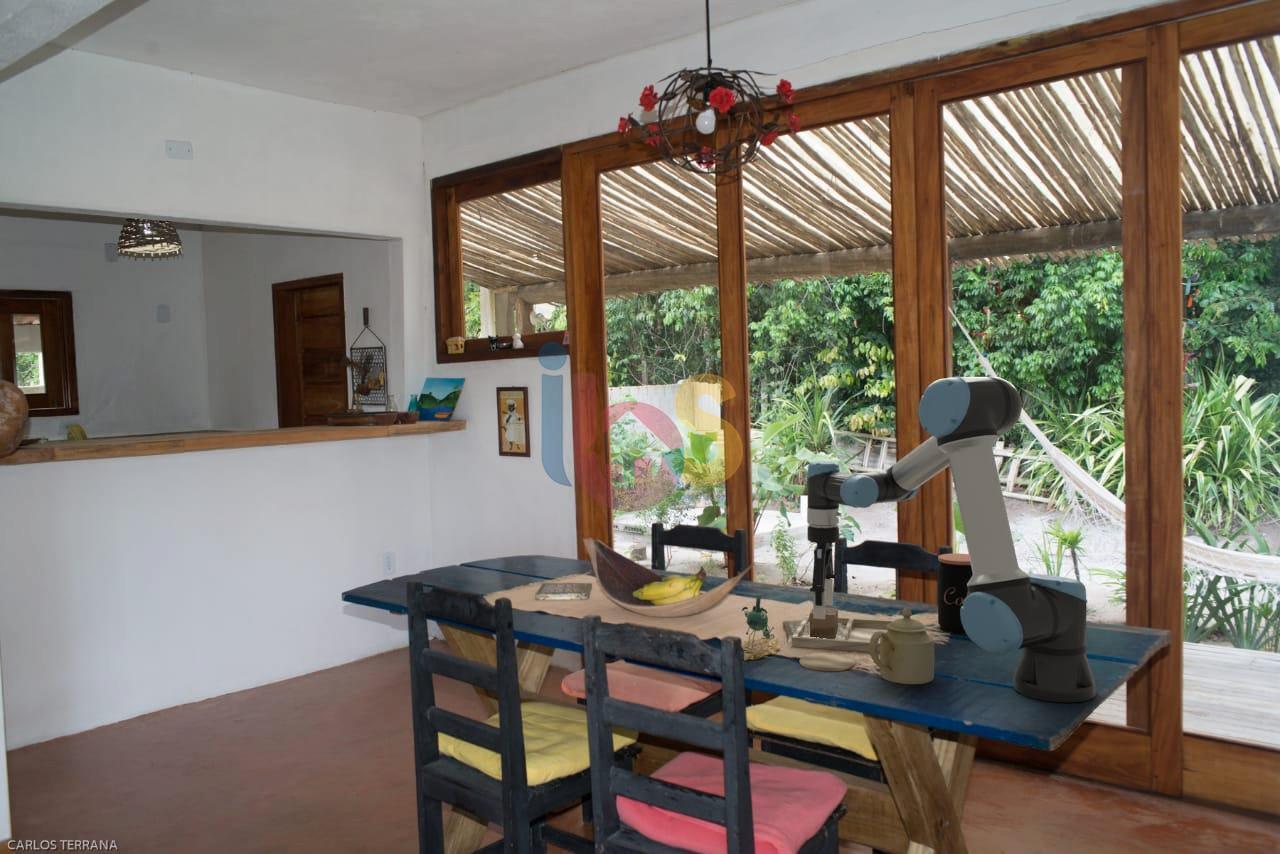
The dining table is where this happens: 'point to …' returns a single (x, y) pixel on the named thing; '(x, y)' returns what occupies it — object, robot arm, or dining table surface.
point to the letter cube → (824, 625)
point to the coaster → (827, 662)
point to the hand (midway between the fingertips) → (823, 611)
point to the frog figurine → (759, 622)
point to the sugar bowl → (904, 651)
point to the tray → (844, 635)
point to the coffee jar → (952, 590)
